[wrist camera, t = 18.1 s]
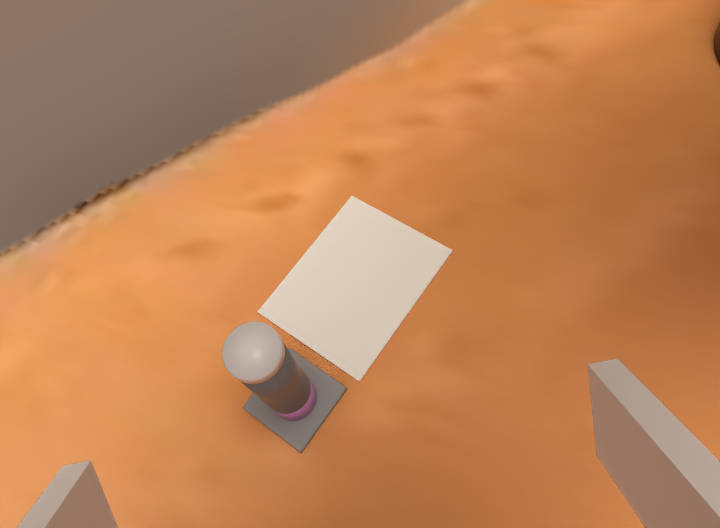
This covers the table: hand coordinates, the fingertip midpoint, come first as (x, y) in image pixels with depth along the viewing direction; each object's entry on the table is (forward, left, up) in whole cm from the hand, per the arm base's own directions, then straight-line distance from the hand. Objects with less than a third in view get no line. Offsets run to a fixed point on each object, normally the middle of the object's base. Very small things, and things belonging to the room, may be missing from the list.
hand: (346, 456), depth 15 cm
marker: (-2, -12, -29) cm, 32 cm away
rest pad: (-2, -12, -30) cm, 32 cm away
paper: (-13, -14, -30) cm, 36 cm away
